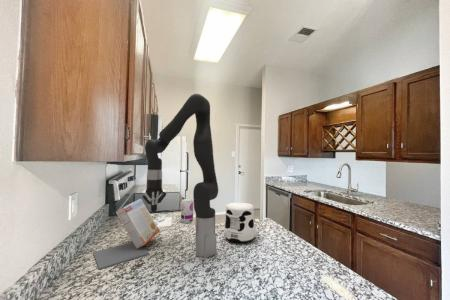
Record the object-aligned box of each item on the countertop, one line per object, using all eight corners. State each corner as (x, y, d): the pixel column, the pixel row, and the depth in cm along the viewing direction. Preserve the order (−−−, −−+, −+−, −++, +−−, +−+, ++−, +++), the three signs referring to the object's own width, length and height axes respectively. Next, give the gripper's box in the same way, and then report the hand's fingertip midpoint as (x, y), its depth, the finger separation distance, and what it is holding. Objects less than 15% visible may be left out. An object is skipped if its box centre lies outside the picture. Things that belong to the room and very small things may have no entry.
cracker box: (152, 235, 112) (133, 202, 113) (160, 231, 111) (141, 197, 111) (135, 249, 98) (114, 212, 99) (145, 244, 97) (123, 206, 98)
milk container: (248, 231, 123) (248, 201, 124) (260, 243, 107) (260, 208, 107) (220, 233, 119) (220, 202, 119) (229, 246, 102) (229, 210, 103)
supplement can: (195, 220, 143) (195, 198, 144) (190, 224, 135) (190, 201, 136) (184, 219, 146) (184, 198, 146) (178, 223, 138) (179, 200, 138)
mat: (149, 254, 94) (149, 253, 94) (99, 269, 82) (99, 268, 82) (137, 241, 108) (137, 240, 108) (93, 253, 96) (93, 251, 96)
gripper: (143, 179, 99) (142, 215, 99) (169, 178, 107) (168, 211, 107) (139, 178, 105) (138, 212, 105) (164, 176, 113) (163, 208, 113)
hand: (153, 211), depth 106 cm, fingers closed
